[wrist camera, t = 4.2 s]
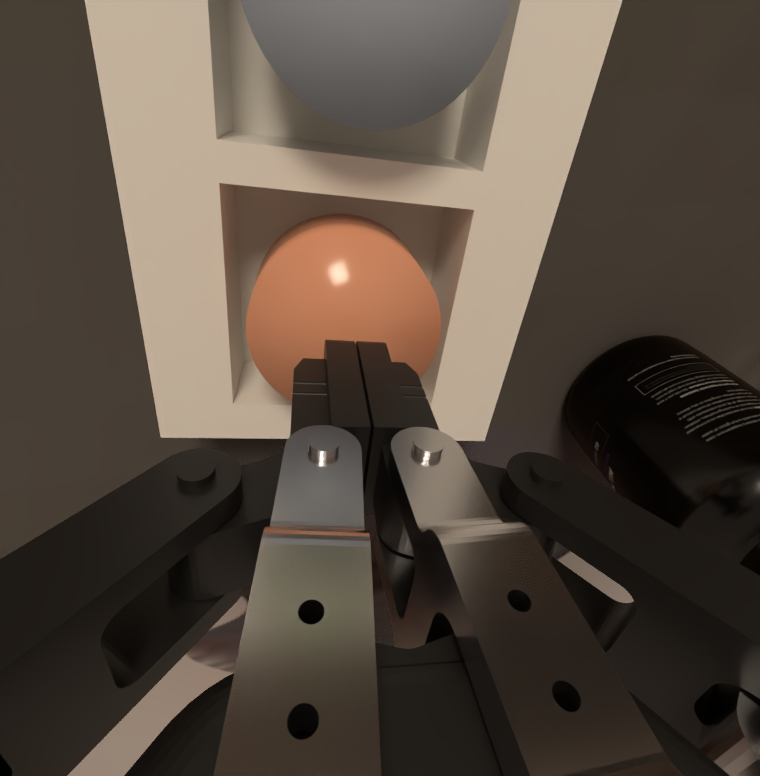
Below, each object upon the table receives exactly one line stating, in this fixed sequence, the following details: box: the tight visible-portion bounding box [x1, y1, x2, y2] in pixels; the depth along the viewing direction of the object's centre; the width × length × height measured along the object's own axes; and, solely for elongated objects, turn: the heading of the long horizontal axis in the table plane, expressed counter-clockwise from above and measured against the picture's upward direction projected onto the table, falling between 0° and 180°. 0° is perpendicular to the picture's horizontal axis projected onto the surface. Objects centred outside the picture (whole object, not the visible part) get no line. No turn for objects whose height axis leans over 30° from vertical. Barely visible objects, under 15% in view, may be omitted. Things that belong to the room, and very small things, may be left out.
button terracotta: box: [246, 214, 441, 401], centre depth 14 cm, size 6×6×3 cm
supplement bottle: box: [566, 335, 760, 575], centre depth 18 cm, size 7×7×12 cm
